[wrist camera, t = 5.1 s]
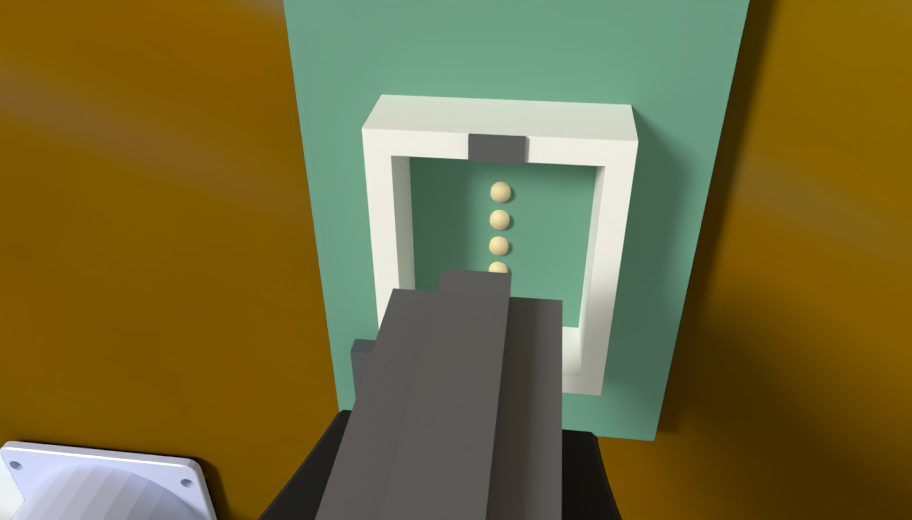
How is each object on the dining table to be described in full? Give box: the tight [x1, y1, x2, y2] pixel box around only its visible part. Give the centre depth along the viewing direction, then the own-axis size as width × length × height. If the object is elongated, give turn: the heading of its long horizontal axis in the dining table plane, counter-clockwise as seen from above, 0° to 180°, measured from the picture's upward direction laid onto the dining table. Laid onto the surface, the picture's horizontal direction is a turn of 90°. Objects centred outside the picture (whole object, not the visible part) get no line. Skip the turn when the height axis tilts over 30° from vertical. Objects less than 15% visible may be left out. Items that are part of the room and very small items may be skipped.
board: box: [283, 0, 750, 441], centre depth 18 cm, size 14×10×3 cm
